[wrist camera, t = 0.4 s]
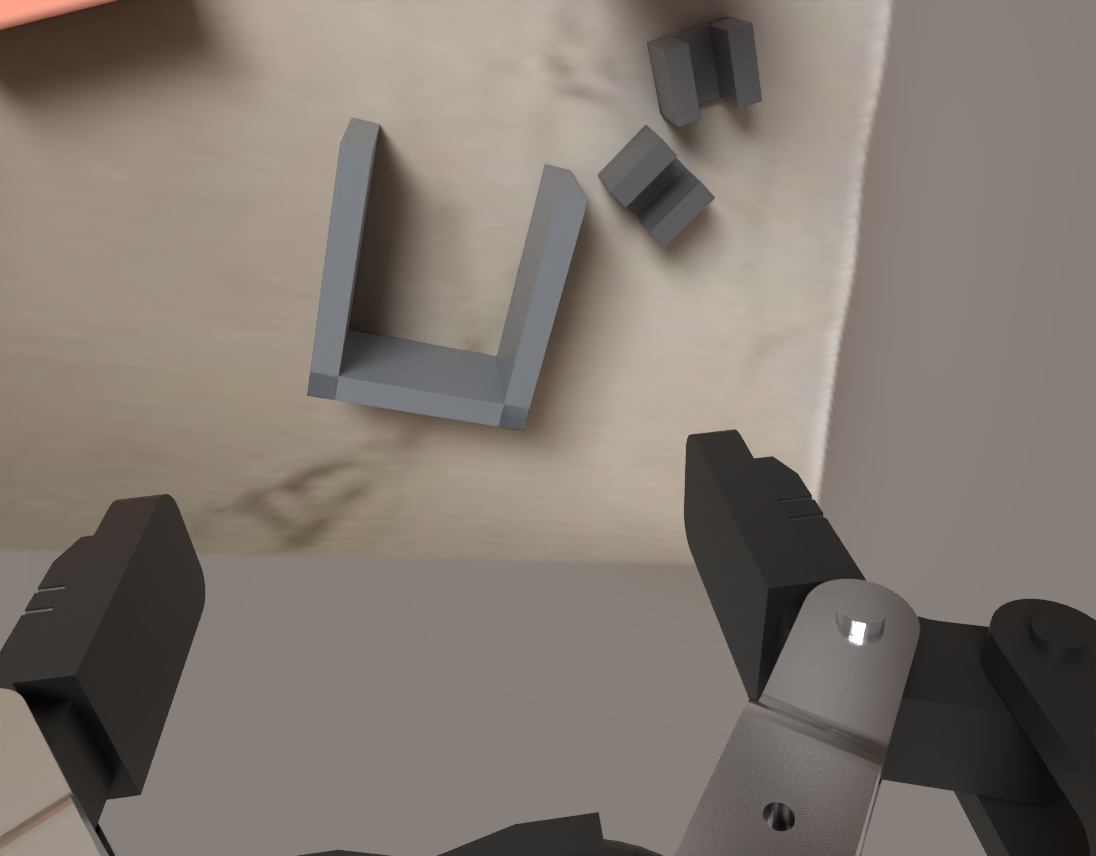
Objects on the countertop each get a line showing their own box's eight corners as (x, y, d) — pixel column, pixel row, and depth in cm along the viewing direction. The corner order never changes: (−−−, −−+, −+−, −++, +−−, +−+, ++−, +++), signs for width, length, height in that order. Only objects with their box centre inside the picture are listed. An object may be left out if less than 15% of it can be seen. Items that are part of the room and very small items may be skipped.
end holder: (351, 117, 35) (340, 142, 31) (570, 170, 37) (587, 200, 33) (320, 347, 40) (307, 395, 36) (514, 381, 43) (523, 430, 38)
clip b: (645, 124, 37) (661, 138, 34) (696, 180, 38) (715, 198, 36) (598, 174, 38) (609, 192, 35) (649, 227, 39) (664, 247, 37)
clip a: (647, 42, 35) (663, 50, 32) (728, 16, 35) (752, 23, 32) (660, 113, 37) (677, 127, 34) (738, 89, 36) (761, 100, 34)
